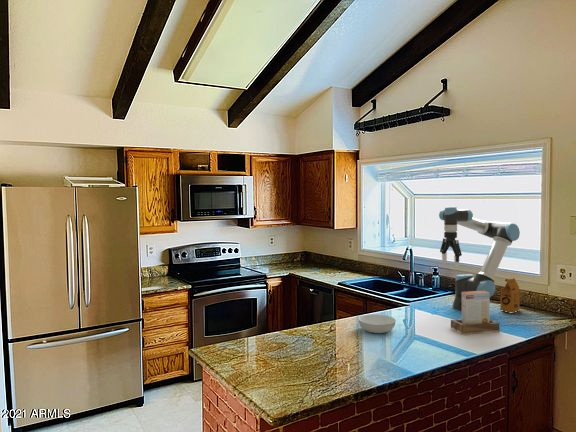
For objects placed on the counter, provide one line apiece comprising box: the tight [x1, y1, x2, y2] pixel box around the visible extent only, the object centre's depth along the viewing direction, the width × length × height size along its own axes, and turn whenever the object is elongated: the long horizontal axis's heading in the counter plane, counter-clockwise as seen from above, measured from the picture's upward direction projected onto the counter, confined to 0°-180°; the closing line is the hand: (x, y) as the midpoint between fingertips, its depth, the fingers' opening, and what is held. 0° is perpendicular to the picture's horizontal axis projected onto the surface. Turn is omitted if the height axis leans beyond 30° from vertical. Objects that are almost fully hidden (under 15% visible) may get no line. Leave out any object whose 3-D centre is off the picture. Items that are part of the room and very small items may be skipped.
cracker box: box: [461, 291, 491, 325], centre depth 255 cm, size 14×6×21 cm, turn 96°
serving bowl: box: [357, 313, 397, 334], centre depth 255 cm, size 21×21×7 cm
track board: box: [450, 318, 501, 336], centre depth 255 cm, size 13×22×5 cm, turn 102°
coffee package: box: [499, 276, 521, 313], centre depth 296 cm, size 10×12×22 cm
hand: (450, 265), depth 281 cm, fingers open, 13 cm apart
